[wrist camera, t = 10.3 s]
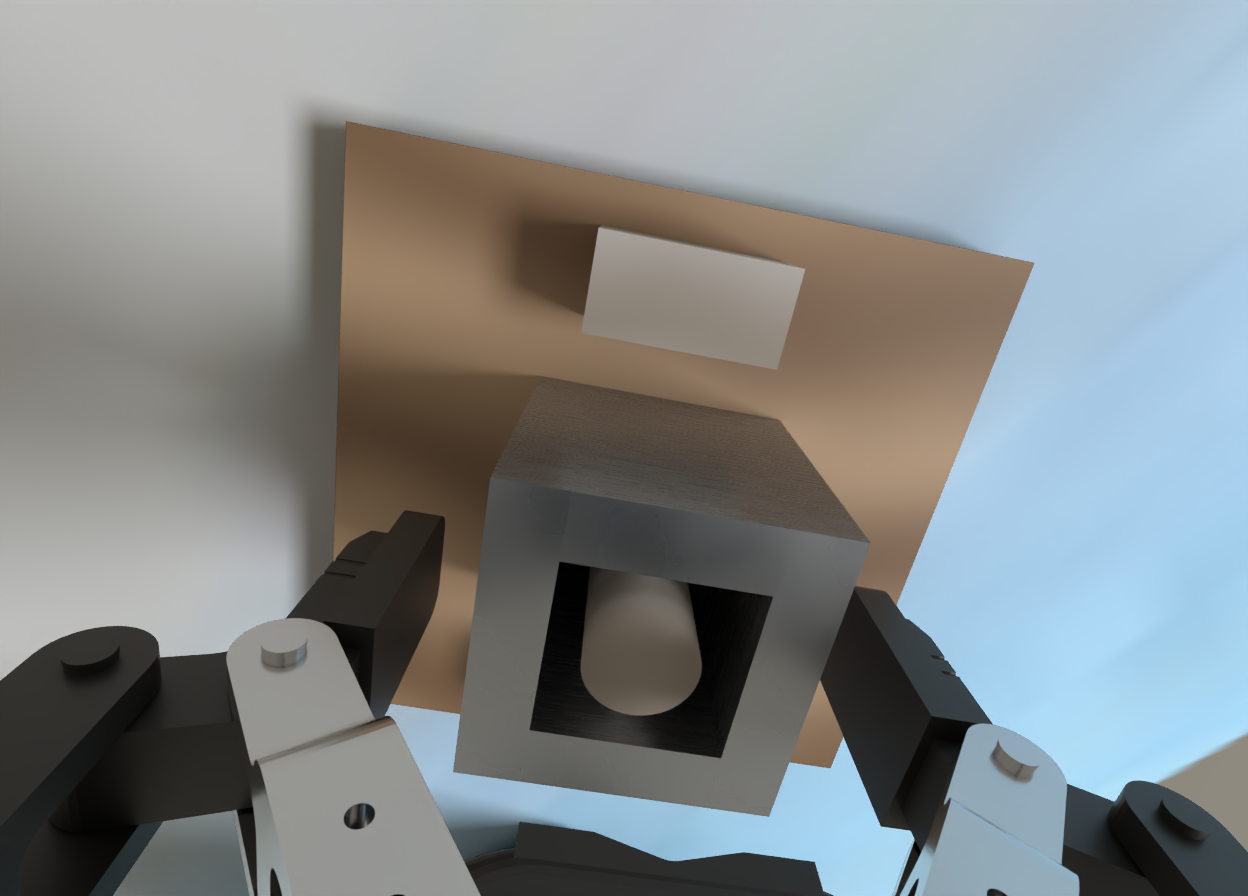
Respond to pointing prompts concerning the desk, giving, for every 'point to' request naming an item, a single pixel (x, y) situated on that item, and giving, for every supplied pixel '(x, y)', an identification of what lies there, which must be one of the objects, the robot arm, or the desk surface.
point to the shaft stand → (636, 370)
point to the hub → (664, 548)
